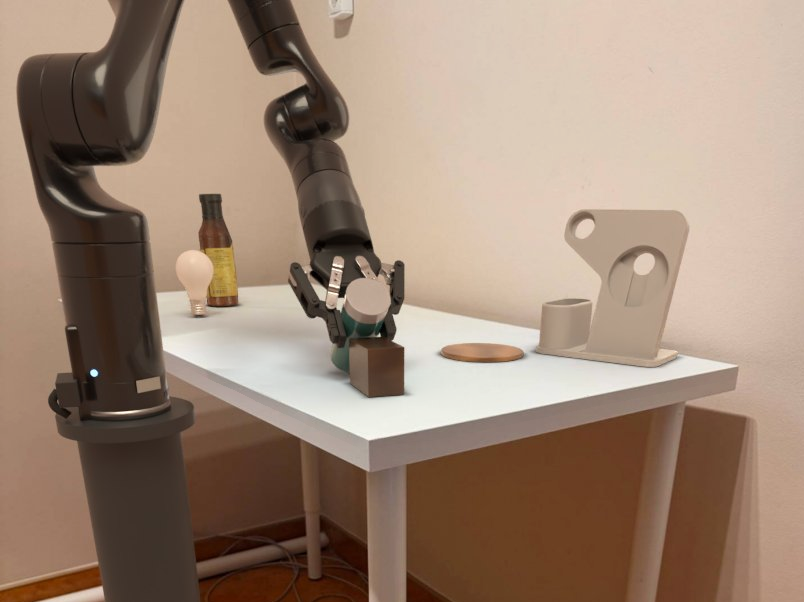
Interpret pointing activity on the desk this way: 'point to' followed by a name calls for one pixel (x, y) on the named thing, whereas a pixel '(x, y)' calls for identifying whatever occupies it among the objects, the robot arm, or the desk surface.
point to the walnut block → (376, 366)
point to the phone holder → (619, 289)
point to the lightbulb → (195, 278)
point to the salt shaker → (361, 316)
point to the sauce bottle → (218, 252)
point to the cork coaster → (482, 352)
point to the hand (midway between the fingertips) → (365, 342)
